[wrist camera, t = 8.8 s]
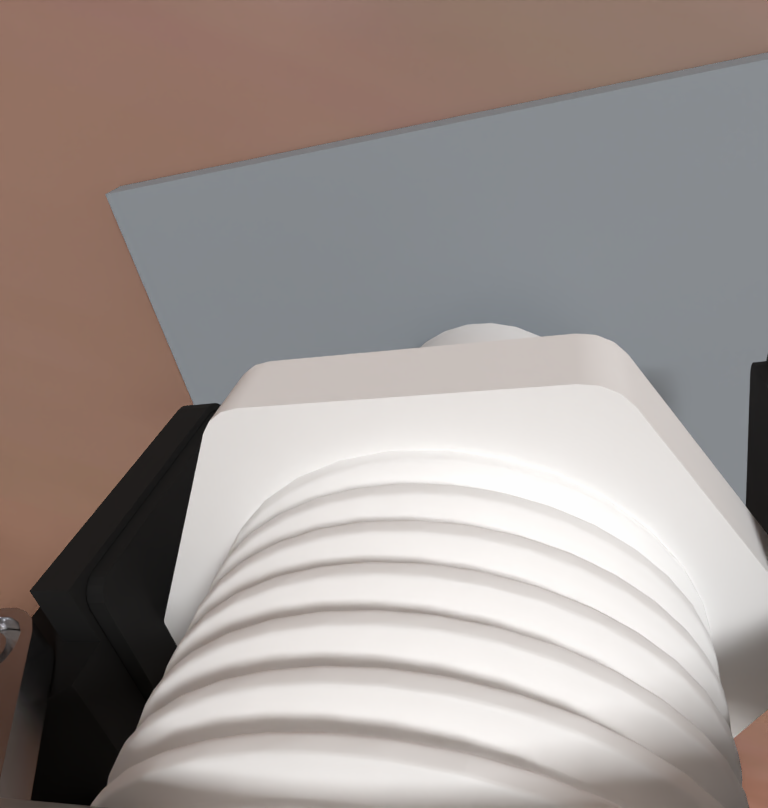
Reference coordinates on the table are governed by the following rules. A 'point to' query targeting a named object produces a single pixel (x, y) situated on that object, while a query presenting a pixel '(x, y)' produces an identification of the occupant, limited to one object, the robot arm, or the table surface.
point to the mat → (488, 241)
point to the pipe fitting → (455, 592)
